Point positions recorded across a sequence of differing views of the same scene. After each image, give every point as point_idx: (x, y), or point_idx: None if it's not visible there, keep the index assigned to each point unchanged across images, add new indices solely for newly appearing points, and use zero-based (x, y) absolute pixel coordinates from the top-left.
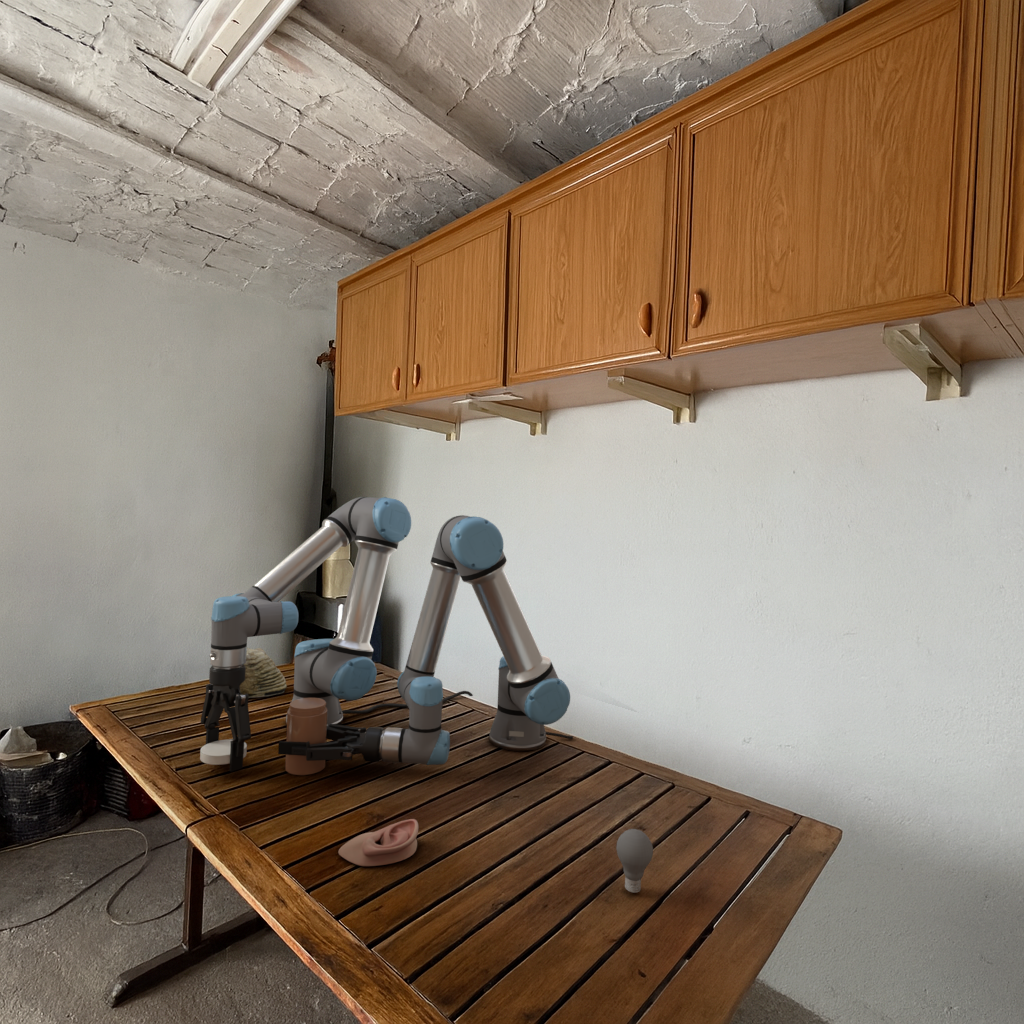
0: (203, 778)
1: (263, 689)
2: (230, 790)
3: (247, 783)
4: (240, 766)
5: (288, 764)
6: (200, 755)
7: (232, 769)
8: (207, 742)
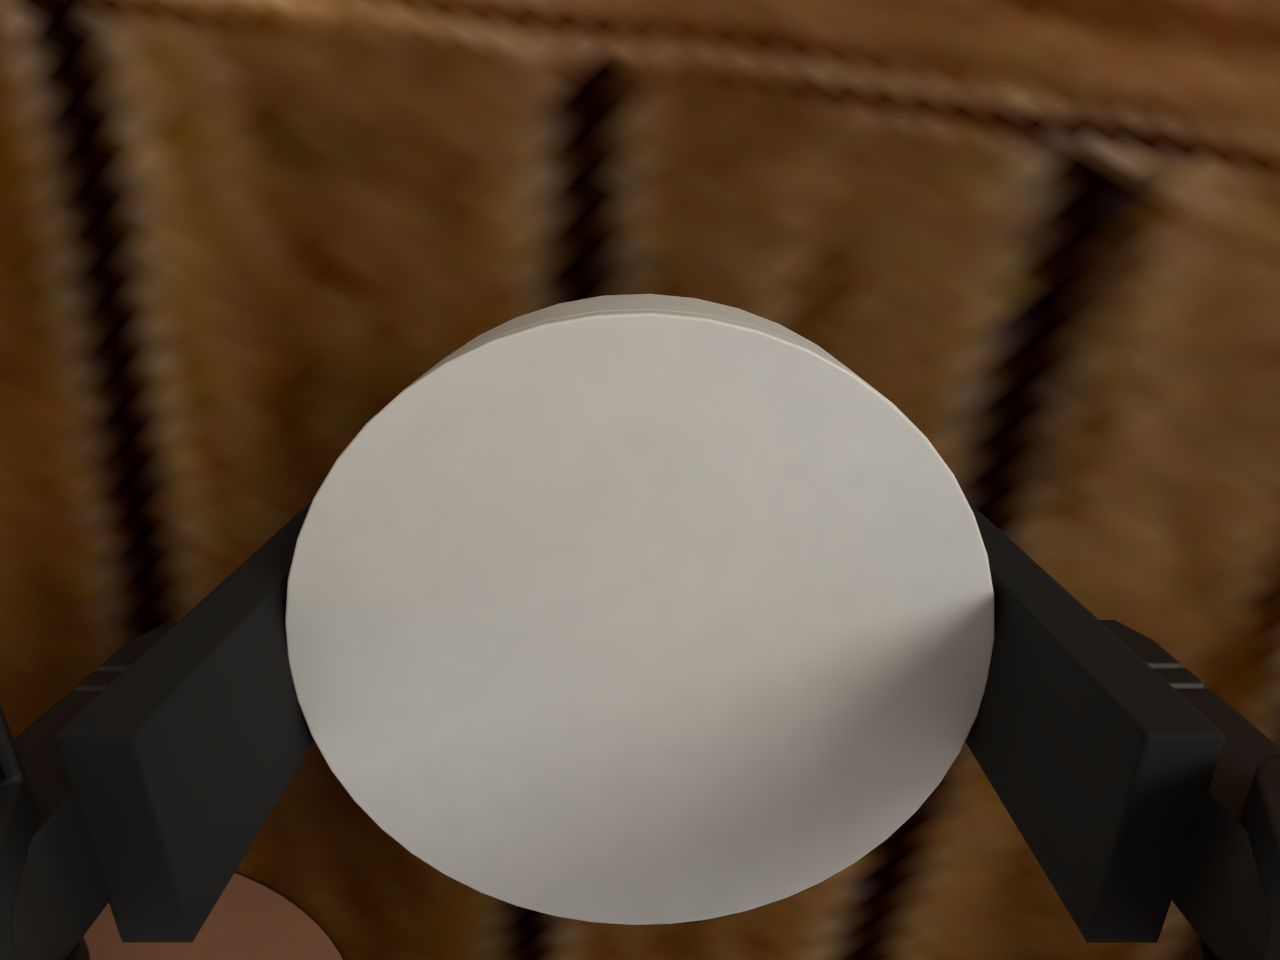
0: (601, 268)
1: None
2: (85, 311)
3: (153, 517)
4: None
5: (102, 924)
6: (772, 326)
7: None
8: (1013, 594)
